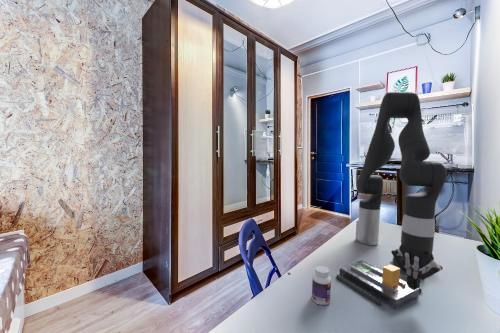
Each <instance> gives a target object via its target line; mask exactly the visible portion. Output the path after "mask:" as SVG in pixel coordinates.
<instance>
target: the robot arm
mask: <svg viewBox="0 0 500 333" xmlns="http://www.w3.org/2000/svg"><path fill="white" fill-rule="evenodd" d="M378 111H379V112H378V115H377V118H376V119H377V120H376V124H375V129H374V132H373V134H372V138H371V141H370V144H369V146H368V149H367V153H366V157H365V159H364V160H365V161H364V162H363V166H362V168H361V170H360V172H359V175H358V177H357V179H356V190H357V192H358V193H360V194H363V195H364V194H365V195H370V196H369V197H367V198H363V199H361V200H360V201H359V203H358V217H357V218H358V219H357V220H356V225H355V240H356V241H358V243H360V244H362V245H366V246H377V245H378V244H379V235H380V223H381V222H380V218H381V206H382V200H383V199H382V198H383V192H384V191H383V190H384V180H383V176H381V175H377V174H374V173H375V172H377V171H378V170H380V169H381V168H382V167H384V166H385V165H386V164H388V163H389V162H390V160H391V158H392V156H393V153H394V150H395V147H396V144H395V140H394V138H393V136H392V134H391V132H390V129H389V120H390V119H407V123H406V124H405V126H404V127H403V128H402V129H401V131H400V133H399V136H398V141H397V142H398V146H399V150H400V154H401V155H400V156H401V162H400V168H399V174H398V175H399V179H400V181H401V182H402V183H403V184H404V185H406V186H409V187H423V189H422V190H421V191H420V192H417V193H416V192H415V193H409V194H406V195H405V196H404V197H405V199H404V208H403V216H402V217H403V218H402V222H401V234H400V235H401V236H400V245H399V246H398V248H395V249H392V250H391V251H390V252H391V255H392V256H393V257H394V258H395V260H396V262H397V263H398V265H399V267H400V269H401V270H402V271H405V272H406V273H407V277H406V282H407V285H408V287H409V288H411V289H413V290H416V289H418V288H420V286H421V280H422V281H424V280H426V279H428V278H430V277H432V276H434V275H435V274H437V273H439V272H440V271H442V270H443V268H444V267H443V266H442V265H440V264H438V263H437V262H436V261H435V257H434V255H433V251H434V240H435V234H436V231H435V228H436V227H435V215H436V214H435V213H436V205H437V201H438V198H439V196H440V193H441V191H442V189H443V187H444V185H445V183H446V180H447V175H448V174H447V169H446V167H445V166H444V164H443V163H441V162H439V161H426V160H428V159H429V157H430V155H431V151H430V147H429V144H428V141H427V138H426V137H425V136H426V135H425V133H424V129H423V128H424V127H423V118H422V109H421V102H420V99H419V96H418V94H417V93H415V92H413V91H389V92H386V93H385V94H384V95H383V97H382V100H381V103H380V107H379V110H378ZM402 255H403V256H402ZM429 263H430V266H429V267H428V268H429V269H428V270H427V271H426V272H425V271H423V269H424V267H425V266H426V265H428V264H429ZM425 268H426V267H425Z"/></svg>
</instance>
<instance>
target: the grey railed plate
mask: <svg viewBox="0 0 500 333" xmlns="http://www.w3.org/2000/svg"><path fill="white" fill-rule="evenodd" d="M369 264H370V265H372V266H374V267H376V268H378V267H377V266H375V265H373V264H371V263H369ZM335 277H336V279H337V280H339V281H341V282H342V283H343V284H345V285H347V286H348V287H350V288H352V289H353V290H354V291H355V292H357V293H359V294H361V295H363V296H364V297H366V298H367V299H368V300H370V301H371V302H374V303H375V304H376V305H378V306H380V307H381V306H382V304H383V302H382V301H380V300H379V299H377V298H375V297H374V296H372V295H371V294H369V293H367V292H366V291H364V290H362V289H361V288H359V287H358V286H356V285H354V284H353V283H351V282H350V281H348V280H346V279H345V278H343V277H341V276H340V275H339V274H336V276H335ZM399 279H401V277H400V278H399ZM401 280H403V279H401ZM403 281H405V282H407V280H403ZM422 292H423V290H422V288H420V287H419V294H421V293H422Z"/></svg>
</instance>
